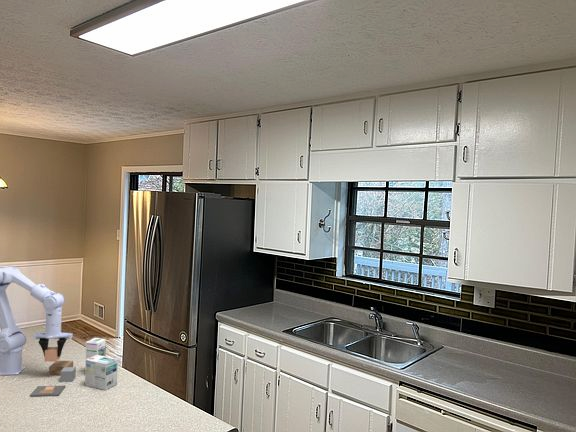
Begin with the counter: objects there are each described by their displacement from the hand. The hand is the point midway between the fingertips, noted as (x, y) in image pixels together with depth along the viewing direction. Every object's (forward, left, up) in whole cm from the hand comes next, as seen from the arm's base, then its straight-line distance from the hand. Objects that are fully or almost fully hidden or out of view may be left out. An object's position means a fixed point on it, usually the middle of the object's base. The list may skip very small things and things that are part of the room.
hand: (52, 356), depth 183 cm
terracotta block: (0, 0, -2) cm, 2 cm away
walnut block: (+2, +4, -9) cm, 10 cm away
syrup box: (+16, +2, -9) cm, 19 cm away
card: (+3, -15, -8) cm, 18 cm away
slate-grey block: (+7, -4, -9) cm, 12 cm away
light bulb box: (+21, -10, -9) cm, 25 cm away
